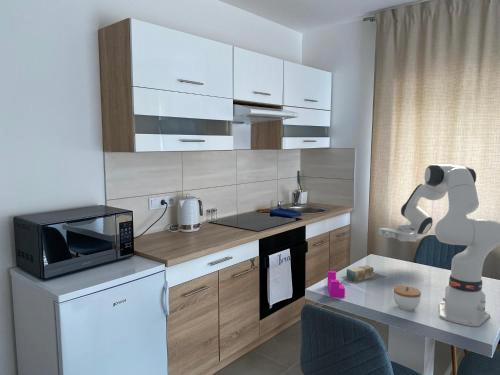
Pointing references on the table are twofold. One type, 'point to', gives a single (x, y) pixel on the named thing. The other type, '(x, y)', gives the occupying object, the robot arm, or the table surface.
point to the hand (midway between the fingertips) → (386, 235)
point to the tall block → (359, 273)
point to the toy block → (335, 286)
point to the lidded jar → (407, 297)
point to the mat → (375, 276)
